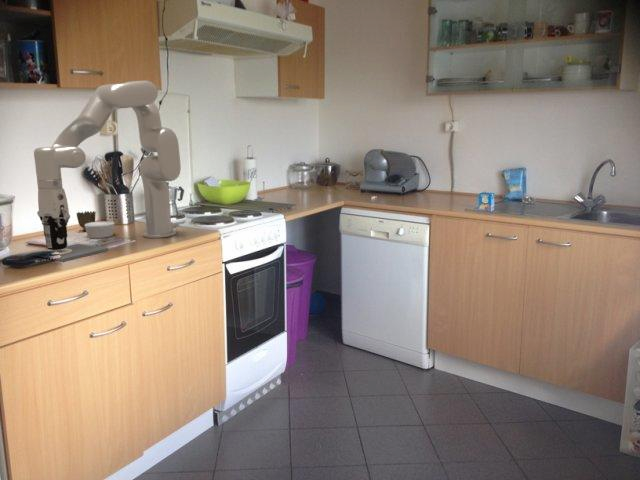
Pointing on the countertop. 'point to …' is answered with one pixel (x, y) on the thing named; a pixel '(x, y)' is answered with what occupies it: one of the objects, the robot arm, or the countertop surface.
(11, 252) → the countertop surface
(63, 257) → the board
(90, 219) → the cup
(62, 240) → the beverage can
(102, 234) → the ramekin
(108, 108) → the robot arm
